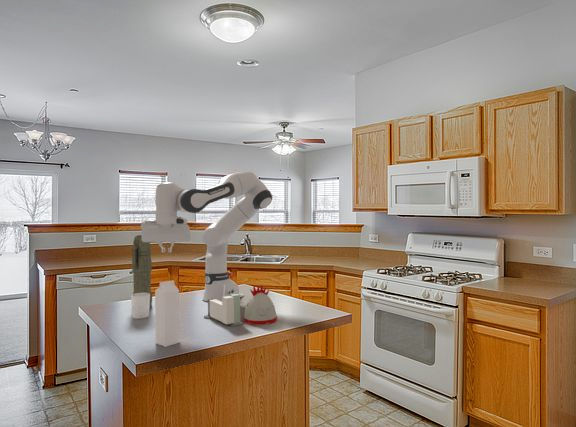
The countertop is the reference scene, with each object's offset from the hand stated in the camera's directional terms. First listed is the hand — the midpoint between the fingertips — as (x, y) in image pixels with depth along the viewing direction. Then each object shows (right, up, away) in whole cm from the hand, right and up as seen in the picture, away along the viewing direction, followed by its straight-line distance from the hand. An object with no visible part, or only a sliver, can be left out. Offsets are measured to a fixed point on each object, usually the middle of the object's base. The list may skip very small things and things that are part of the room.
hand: (166, 252), depth 175 cm
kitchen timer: (+40, -29, -1) cm, 50 cm away
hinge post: (+18, -29, +5) cm, 34 cm away
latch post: (+30, -29, -6) cm, 42 cm away
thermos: (-19, -29, +23) cm, 42 cm away
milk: (+9, -30, -30) cm, 43 cm away
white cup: (-13, -29, +6) cm, 33 cm away
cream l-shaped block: (+24, -28, -3) cm, 37 cm away
